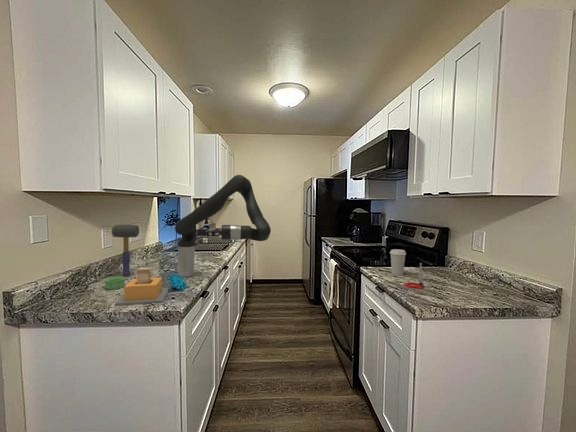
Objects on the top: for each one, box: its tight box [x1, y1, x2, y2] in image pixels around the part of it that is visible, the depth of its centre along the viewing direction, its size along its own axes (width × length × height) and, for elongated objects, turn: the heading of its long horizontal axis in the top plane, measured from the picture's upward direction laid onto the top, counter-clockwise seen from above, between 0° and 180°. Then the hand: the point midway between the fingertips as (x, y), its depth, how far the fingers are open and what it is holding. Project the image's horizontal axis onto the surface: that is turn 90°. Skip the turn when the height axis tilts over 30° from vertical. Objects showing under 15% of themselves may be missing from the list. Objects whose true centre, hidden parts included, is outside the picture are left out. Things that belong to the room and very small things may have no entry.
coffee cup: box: [389, 248, 407, 276], centre depth 173 cm, size 10×10×15 cm
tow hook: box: [403, 262, 425, 290], centre depth 148 cm, size 8×13×9 cm
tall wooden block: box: [136, 267, 152, 284], centre depth 125 cm, size 4×4×12 cm
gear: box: [167, 272, 187, 291], centre depth 138 cm, size 11×6×10 cm
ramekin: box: [104, 275, 126, 290], centre depth 139 cm, size 9×9×4 cm
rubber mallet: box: [111, 224, 140, 278], centre depth 159 cm, size 12×8×30 cm, turn 98°
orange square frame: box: [114, 277, 170, 307], centre depth 125 cm, size 18×18×7 cm
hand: (197, 232), depth 137 cm, fingers open, 8 cm apart
